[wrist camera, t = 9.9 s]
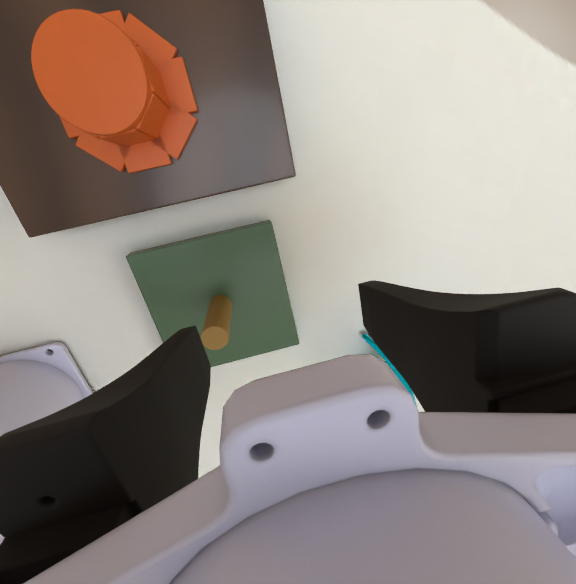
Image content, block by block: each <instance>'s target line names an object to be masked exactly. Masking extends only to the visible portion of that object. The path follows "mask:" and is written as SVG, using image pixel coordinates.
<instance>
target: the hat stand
mask: <svg viewBox="0 0 576 584" xmlns="http://www.w3.org/2000/svg"><path fill="white" fill-rule="evenodd" d="M126 258H127V261H128V263H129V265H130V268H131V270H132V272H133V275H134V277H135V279H136V281H137V284H138V286H139V288H140V291H141V293H142V295H143V297H144V300H145V302H146V304H147V307H148V309H149V311H150V314H151V316H152V318H153V320H154V323H155V325H156V327H157V330H158V332H159V334H160V337H161V339H162V341H163V343H164V342H165V341H166V340H167V339H169V338H170V337H171V336H172V335H173V334H175V333H176V332H177V331H179V330H180V329H183V328H187V327H191V326H195V325H196V327H197V330H198V333H199V335H200V338H201V341H202V343H203V346H204V349H205V351H206V354H207V357H208V359H209V362H210V365H211V366H210V367H213V366H217V365H221V364H224V363H228V362H232V361H236V360H240V359H244V358H247V357H251V356H255V355H259V354H263V353H267V352H270V351H274V350H278V349H282V348H286V347H290V346H293V345H297V344H299V340H298V335H297V331H296V327H295V322H294V318H293V314H292V309H291V305H290V301H289V296H288V292H287V287H286V283H285V279H284V274H283V270H282V266H281V261H280V257H279V253H278V248H277V244H276V240H275V235H274V231H273V226H272V222H271V221H270V220H267V221H263V222H259V223H254V224H250V225H246V226H242V227H237V228H233V229H229V230H225V231H221V232H216V233H212V234H208V235H204V236H200V237H195V238H191V239H187V240H183V241H179V242H174V243H170V244H166V245H162V246H158V247H153V248H149V249H145V250H141V251H136V252H132V253H130V254H128V255H127V256H126Z"/></svg>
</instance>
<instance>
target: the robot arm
mask: <svg viewBox="0 0 576 584" xmlns="http://www.w3.org/2000/svg"><path fill="white" fill-rule="evenodd" d="M358 285H359V293H360V301H361V308H362V316H363V324H364V326H365V328H366V330H367V332H368V333H369V335H370V337H371V338H372V340H373V341H374V343H375V344H376V345H377V347H378V348H379V349H380V350H381V351H382V353H383V354H384V355H385V356H386V358H387V359H388V360H389V361H390V362H391V364H392V365H393V366H394V367H395V368H396V370H397V371H398V372H399V373H400V374H401V376H402V377H403V378H404V380H405V381H406V382H407V384H408V385H409V387H410V388H411V390H412V391H413V393H414V394H415V396H416V397H417V399H418V401H419V402H420V404H421V405H422V407H423V409H424V410H425V412H418V409H417V407H416V405H415V402H414V400H413V398H412V395H411V394H410V393H409V391H408V390H407V389H406V387H405V386H404V385H403V384H402V382H401V381H400V380H399V378H398V377H397V376H396V374H395V373H394V372H393V371H392V369H391V368H390V367H389V365H388V364H387V363H386V362H384V361H382V360H380V359H378V358H376V357H374V356H373V355H371V354H364V355H347V356H343V357H339V358H336V359H332V360H328V361H324V362H321V363H317V364H313V365H309V366H305V367H302V368H298V369H294V370H290V371H287V372H283V373H279V374H275V375H272V376H268V377H264V378H260V379H256V380H254V381H252V382H250V383H248V384H246V385H244V386H242V387H240V388H238V389H236V390H234V392H233V393H232V395H231V396H230V398H229V399H228V401H227V402H226V404H225V405H224V407H223V415H222V427H221V438H220V466H219V467H217V468H215V469H214V470H212V471H210V472H209V473H207V474H205V475H204V476H202V477H200V478H199V479H198V464H199V450H200V438H201V431H202V425H203V420H204V415H205V409H206V404H207V399H208V393H209V387H210V366H211V365H210V362H209V359H208V357H207V354H206V351H205V349H204V346H203V343H202V341H201V338H200V335H199V333H198V330H197V327H196V325H195V326H191V327H187V328H183V329H180V330H179V331H177V332H176V333H175V334H173V335H172V336H171V337H170V338H169V339H167V340H166V341H165V342H164V343H163V344H162V345H160V346H159V347H158V348H157V349H156V350H155V351H153V352H152V353H151V354H150V355H149V356H147V357H146V358H145V359H144V360H142V361H141V362H140V363H139V364H137V365H136V366H135V367H133V368H132V369H131V370H129V371H128V372H126V373H125V374H124V375H122V376H121V377H119V378H118V379H116V380H115V381H113V382H111V383H110V384H108V385H106V386H105V387H103V388H101V389H99V390H98V391H96V392H94V393H93V392H92V390H91V389H90V387H89V385H88V384H87V382H86V380H85V379H84V377H83V375H82V373H81V372H80V370H79V368H78V367H77V365H76V363H75V362H74V360H73V358H72V356H71V355H70V353H69V351H68V350H67V348H66V346H65V345H64V344H63V343H60V342H54V343H50V344H46V345H42V346H38V347H34V348H30V349H26V350H22V351H18V352H14V353H10V354H6V355H2V356H0V584H576V293H573V292H570V291H568V290H565V289H562V288H551V289H543V290H535V291H527V292H518V293H504V294H452V293H440V292H432V291H425V290H419V289H414V288H409V287H404V286H399V285H395V284H390V283H386V282H380V281H368V282H364V283H360V284H358ZM49 349H51V350H52V351H53V352H50V351H49Z"/></svg>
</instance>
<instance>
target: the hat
mask: <svg viewBox="0 0 576 584" xmlns="http://www.w3.org/2000/svg"><path fill="white" fill-rule="evenodd" d="M177 52H178V50H177V48H176V47H174V46H173V45H172V44H170V43H169V42H168V41H166V40H165V39H164V38H162V37H161V36H160V35H159V34H157V33H156V32H155V31H153V30H152V29H151V28H149V27H148V26H147V25H145V24H144V23H143V22H141V21H140V20H139V19H137V18H136V17H135V16H133V15H132V14H131V13H128V16H127V18H126V21H125V19H124V16H123V14H122V12H121V11H120V10H116V11H111V12H106V13H101V14H97V13H94V12H91V11H88V10H83V9H66V10H62V11H59V12H57V13H54V14H52V15H51V16H50V17H48V18H47V19H46V20H45V21H44V22H43V23H42V24H41V25H40V27H39V28H38V30H37V32H36V34H35V37H34V40H33V44H32V51H31V62H32V68H33V73H34V76H35V80H36V82H37V85H38V87H39V89H40V91H41V93H42V95H43V96H44V98H45V99H46V101H47V102H48V104H49V105H50V106H51V107H52V109H53V110H54V111H55V112H56V113H57V114H58V115H59V117H60V119H61V121H62V123H63V126H64V128H65V130H66V132H67V135H68V137H69V138H71V139H75V138H78V140H77V142H76V146H77V147H79V148H81V149H83V150H84V151H86V152H88V153H89V154H91V155H93V156H95V157H96V158H98V159H100V160H101V161H103V162H105V163H106V164H108V165H110V166H112V167H113V168H115V169H117V170H118V171H120V172H123V171H124V169H125V167H126V168H127V171H128V173H135V172H140V171H144V170H148V169H153V168H157V167H162V166H166V165H171V164H172V160H171V157H170V155H171V156H172V157H174V158H175V159H179V157H180V155H181V153H182V151H183V149H184V147H185V145H186V143H187V141H188V139H189V137H190V135H191V133H192V131H193V129H194V127H195V125H196V123H197V121H198V120H197V118H195V117H194V116H193V115H191V113H195V112H198V108H197V105H196V101H195V98H194V94H193V91H192V87H191V84H190V80H189V76H188V73H187V69H186V66H185V62H184V59H183V57H177V58H175V57H176V55H177Z"/></svg>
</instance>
